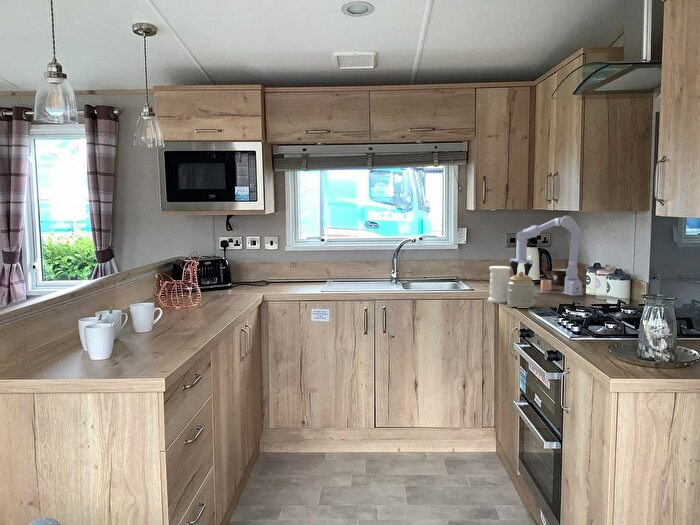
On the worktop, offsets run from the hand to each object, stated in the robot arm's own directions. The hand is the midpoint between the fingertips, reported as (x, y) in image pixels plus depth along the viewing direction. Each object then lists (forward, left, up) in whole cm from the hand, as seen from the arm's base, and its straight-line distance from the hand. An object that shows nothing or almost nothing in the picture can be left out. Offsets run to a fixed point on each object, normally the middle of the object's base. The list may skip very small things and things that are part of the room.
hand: (520, 275), depth 316 cm
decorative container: (-25, +25, -10) cm, 37 cm away
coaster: (-6, -8, -9) cm, 14 cm away
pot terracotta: (0, -16, -10) cm, 19 cm away
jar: (-42, +22, -10) cm, 48 cm away
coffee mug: (+15, -33, -10) cm, 37 cm away
